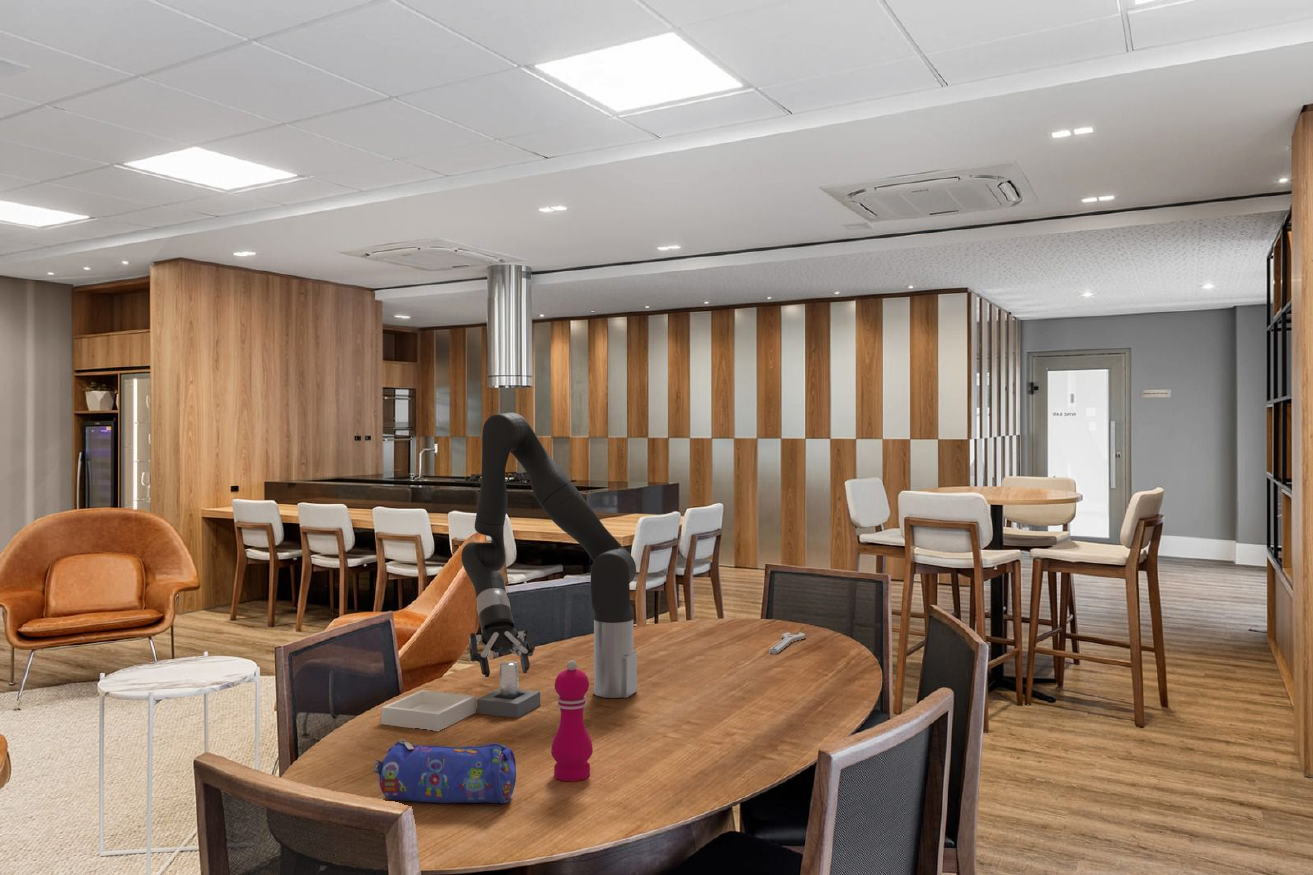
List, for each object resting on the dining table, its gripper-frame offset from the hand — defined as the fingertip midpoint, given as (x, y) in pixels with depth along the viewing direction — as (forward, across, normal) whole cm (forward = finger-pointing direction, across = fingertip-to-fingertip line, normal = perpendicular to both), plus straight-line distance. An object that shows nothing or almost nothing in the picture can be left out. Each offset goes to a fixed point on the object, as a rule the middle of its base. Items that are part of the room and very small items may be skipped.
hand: (507, 673), depth 196 cm
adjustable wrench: (-14, +89, +25) cm, 93 cm away
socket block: (+6, 0, +4) cm, 8 cm away
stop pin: (+6, 0, +4) cm, 8 cm away
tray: (+6, -17, +5) cm, 19 cm away
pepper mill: (+37, 0, -26) cm, 45 cm away
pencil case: (+38, -22, -27) cm, 52 cm away
